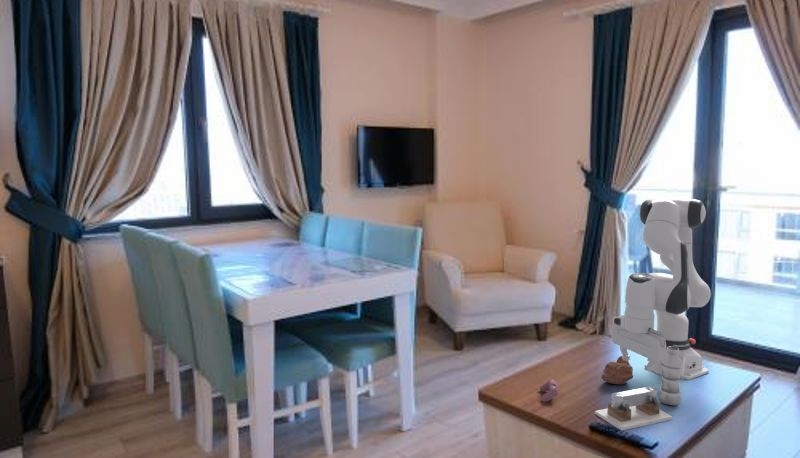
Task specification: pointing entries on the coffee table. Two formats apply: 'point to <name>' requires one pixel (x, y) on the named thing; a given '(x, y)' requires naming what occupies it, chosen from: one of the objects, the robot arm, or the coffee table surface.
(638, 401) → the grey long cylinder
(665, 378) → the plastic bottle
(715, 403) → the coffee table surface
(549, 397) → the video game controller
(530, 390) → the coffee table surface
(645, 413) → the spanner rack
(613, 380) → the stone
